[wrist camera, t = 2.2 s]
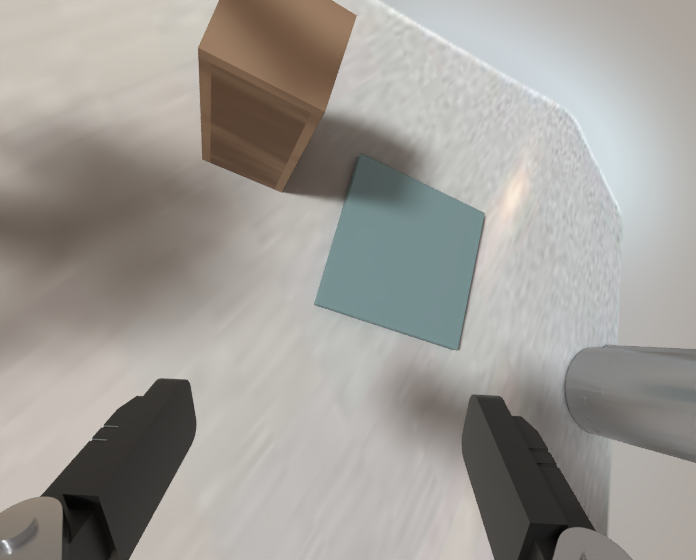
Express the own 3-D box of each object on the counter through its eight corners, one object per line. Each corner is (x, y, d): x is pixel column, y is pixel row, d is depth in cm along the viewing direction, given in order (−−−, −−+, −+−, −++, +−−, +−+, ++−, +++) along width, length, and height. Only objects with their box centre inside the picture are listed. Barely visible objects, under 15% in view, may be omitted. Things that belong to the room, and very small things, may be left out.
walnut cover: (230, 90, 29) (243, -54, 18) (303, 126, 31) (356, 15, 20) (202, 159, 28) (198, 48, 17) (281, 192, 30) (324, 111, 19)
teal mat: (357, 157, 33) (361, 153, 32) (479, 215, 37) (484, 213, 36) (314, 304, 30) (316, 304, 29) (452, 349, 34) (457, 350, 33)
